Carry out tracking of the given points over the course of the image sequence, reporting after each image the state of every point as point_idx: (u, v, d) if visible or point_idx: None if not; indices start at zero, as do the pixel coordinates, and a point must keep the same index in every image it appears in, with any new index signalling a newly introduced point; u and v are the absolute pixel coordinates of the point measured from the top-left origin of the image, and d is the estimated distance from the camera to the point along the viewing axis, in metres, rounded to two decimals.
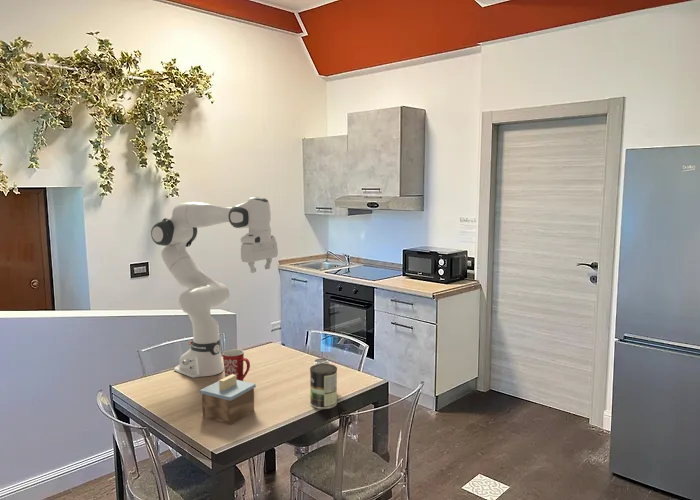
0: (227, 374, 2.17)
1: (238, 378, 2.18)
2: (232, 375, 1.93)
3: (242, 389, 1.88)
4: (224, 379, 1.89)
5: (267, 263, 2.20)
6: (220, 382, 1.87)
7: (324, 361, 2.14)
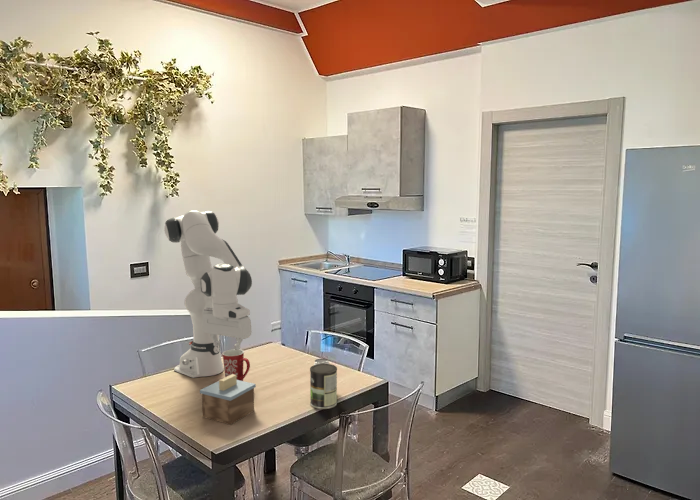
0: (227, 374, 2.17)
1: (238, 378, 2.18)
2: (232, 375, 1.93)
3: (242, 389, 1.88)
4: (224, 379, 1.89)
5: (215, 339, 1.91)
6: (220, 382, 1.87)
7: (324, 361, 2.14)
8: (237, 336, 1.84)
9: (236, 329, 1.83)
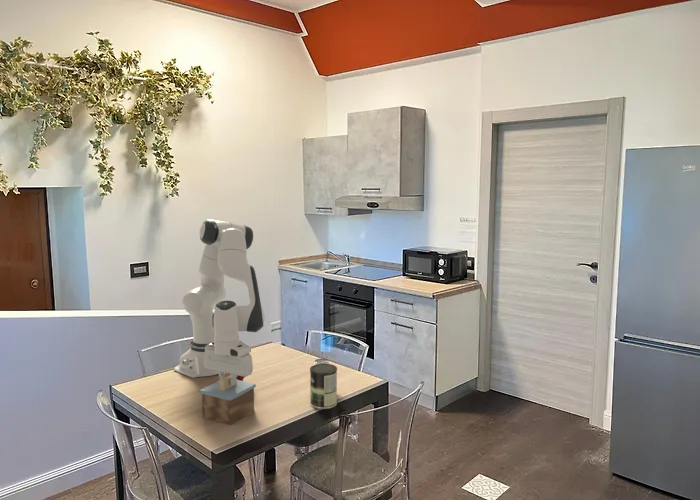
0: (227, 374, 2.17)
1: (238, 378, 2.18)
2: None
3: (242, 389, 1.88)
4: (224, 379, 1.89)
5: (222, 376, 1.91)
6: (220, 382, 1.88)
7: (324, 361, 2.14)
8: (238, 374, 1.85)
9: (237, 367, 1.85)
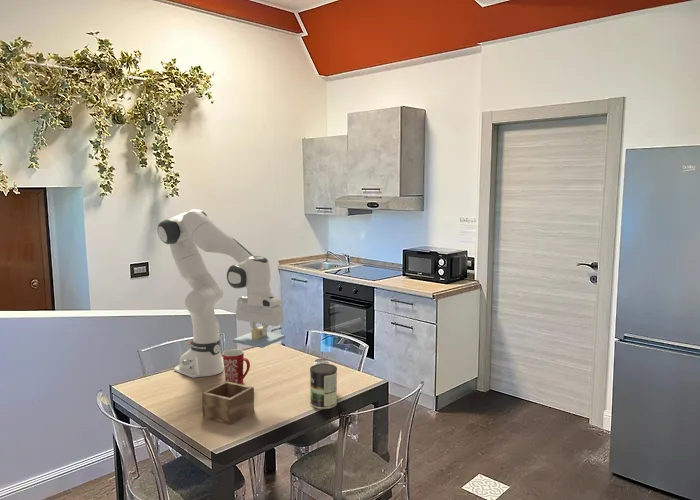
0: (227, 374, 2.17)
1: (238, 378, 2.18)
2: None
3: (273, 339, 2.00)
4: (256, 329, 2.00)
5: (254, 327, 2.03)
6: (252, 332, 1.99)
7: (324, 361, 2.14)
8: (269, 324, 1.97)
9: (269, 317, 1.97)
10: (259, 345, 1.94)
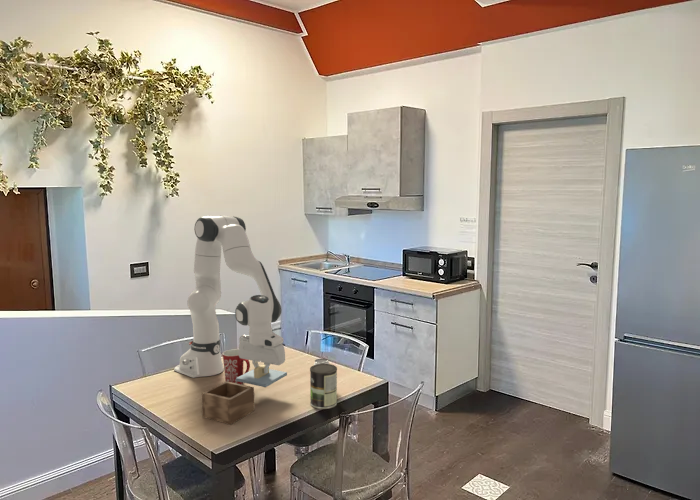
0: (227, 374, 2.17)
1: None
2: None
3: (275, 377, 2.03)
4: (258, 368, 2.03)
5: (256, 365, 2.05)
6: (255, 370, 2.02)
7: (324, 361, 2.14)
8: (272, 363, 2.00)
9: (271, 356, 1.99)
10: (262, 385, 1.96)
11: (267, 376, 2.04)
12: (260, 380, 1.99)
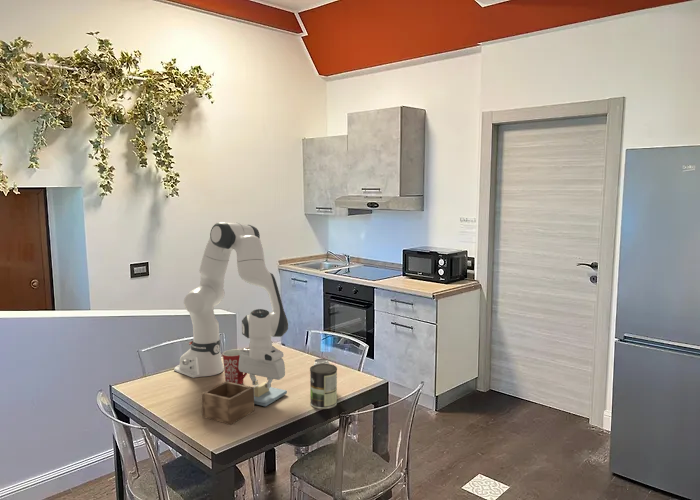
0: (227, 374, 2.17)
1: (238, 378, 2.18)
2: (265, 382, 2.08)
3: (275, 395, 2.04)
4: (258, 386, 2.04)
5: (253, 379, 2.07)
6: (255, 389, 2.03)
7: (324, 361, 2.14)
8: (272, 377, 2.00)
9: (271, 371, 2.00)
10: (262, 404, 1.97)
11: (267, 394, 2.04)
12: (260, 399, 2.00)
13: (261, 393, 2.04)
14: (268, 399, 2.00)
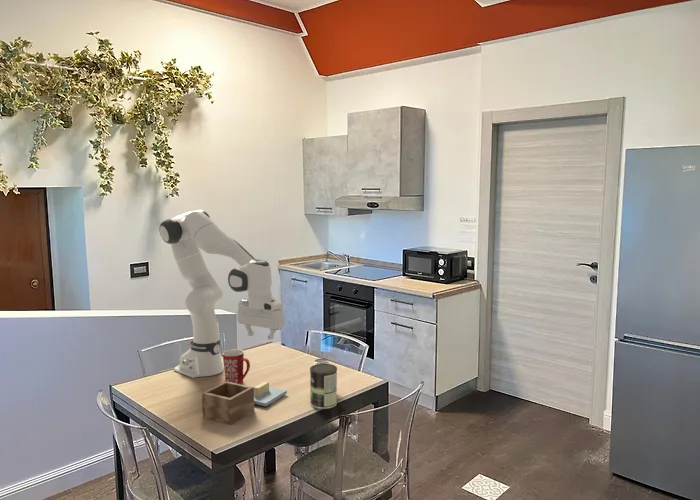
0: (227, 374, 2.17)
1: (238, 378, 2.18)
2: (265, 382, 2.08)
3: (275, 395, 2.04)
4: (258, 386, 2.04)
5: (249, 329, 2.05)
6: (255, 389, 2.03)
7: (324, 361, 2.14)
8: (271, 327, 1.98)
9: (270, 321, 1.98)
10: (262, 404, 1.97)
11: (267, 394, 2.04)
12: (260, 399, 2.00)
13: (261, 393, 2.04)
14: (268, 399, 2.00)
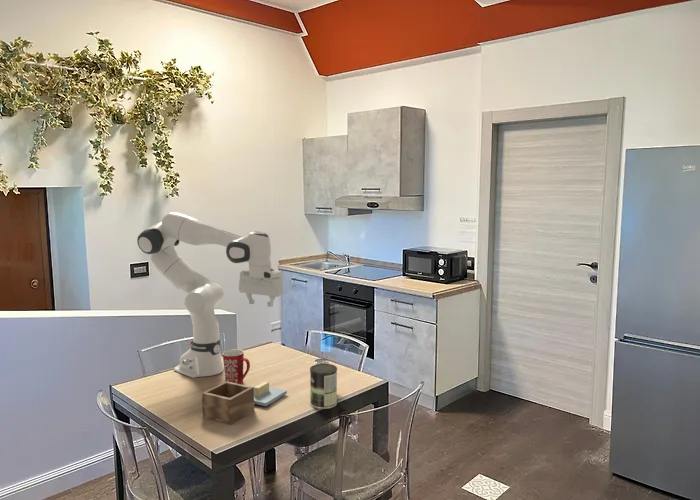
0: (227, 374, 2.17)
1: (238, 378, 2.18)
2: (265, 382, 2.08)
3: (275, 395, 2.04)
4: (258, 386, 2.04)
5: (250, 298, 2.17)
6: (255, 389, 2.03)
7: (324, 361, 2.14)
8: (270, 294, 2.10)
9: (270, 288, 2.10)
10: (262, 404, 1.97)
11: (267, 394, 2.04)
12: (260, 399, 2.00)
13: (261, 393, 2.04)
14: (268, 399, 2.00)
